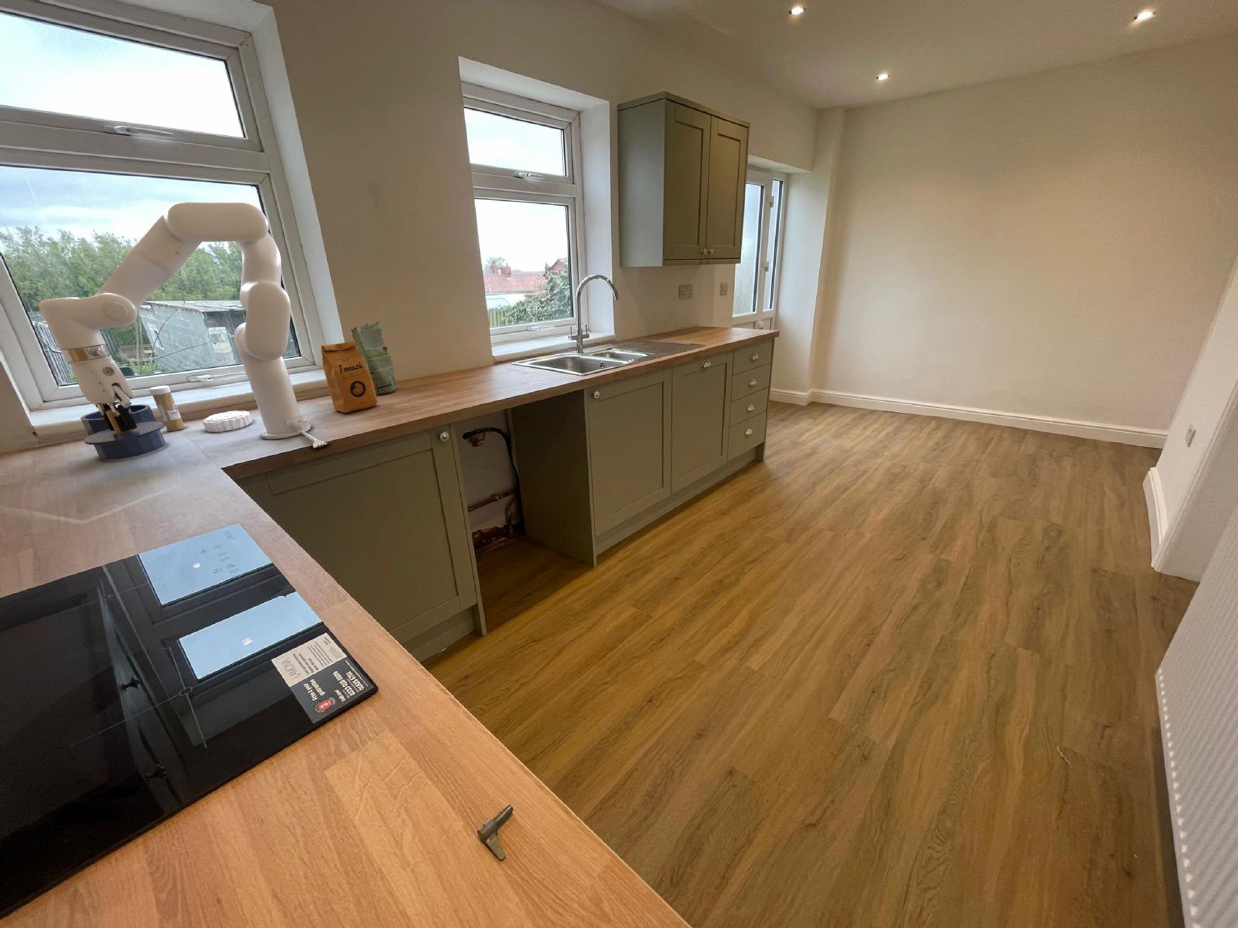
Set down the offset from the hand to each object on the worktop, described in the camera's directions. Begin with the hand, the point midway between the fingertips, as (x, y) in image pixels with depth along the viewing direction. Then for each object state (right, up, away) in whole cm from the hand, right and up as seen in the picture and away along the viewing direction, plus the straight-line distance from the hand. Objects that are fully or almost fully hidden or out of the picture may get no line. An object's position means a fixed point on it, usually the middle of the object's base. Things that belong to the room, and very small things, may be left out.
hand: (123, 428), depth 122 cm
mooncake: (-1, +3, +34) cm, 34 cm away
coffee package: (+33, +10, +46) cm, 57 cm away
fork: (+36, -2, +17) cm, 40 cm away
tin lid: (0, -1, 0) cm, 1 cm away
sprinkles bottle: (-17, +2, +33) cm, 37 cm away
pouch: (+32, +19, +66) cm, 76 cm away
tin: (-13, -5, +16) cm, 21 cm away
